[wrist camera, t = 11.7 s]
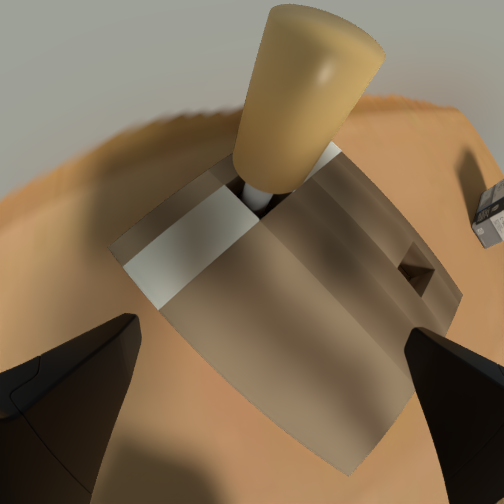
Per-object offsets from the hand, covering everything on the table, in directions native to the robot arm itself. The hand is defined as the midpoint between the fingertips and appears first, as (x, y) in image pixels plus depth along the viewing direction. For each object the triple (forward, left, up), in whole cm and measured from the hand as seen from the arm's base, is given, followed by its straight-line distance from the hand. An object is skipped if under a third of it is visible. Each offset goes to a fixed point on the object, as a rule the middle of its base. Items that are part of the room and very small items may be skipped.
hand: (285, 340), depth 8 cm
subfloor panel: (+6, -1, -9) cm, 11 cm away
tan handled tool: (+7, +6, -9) cm, 13 cm away
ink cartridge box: (+31, -14, -10) cm, 35 cm away
